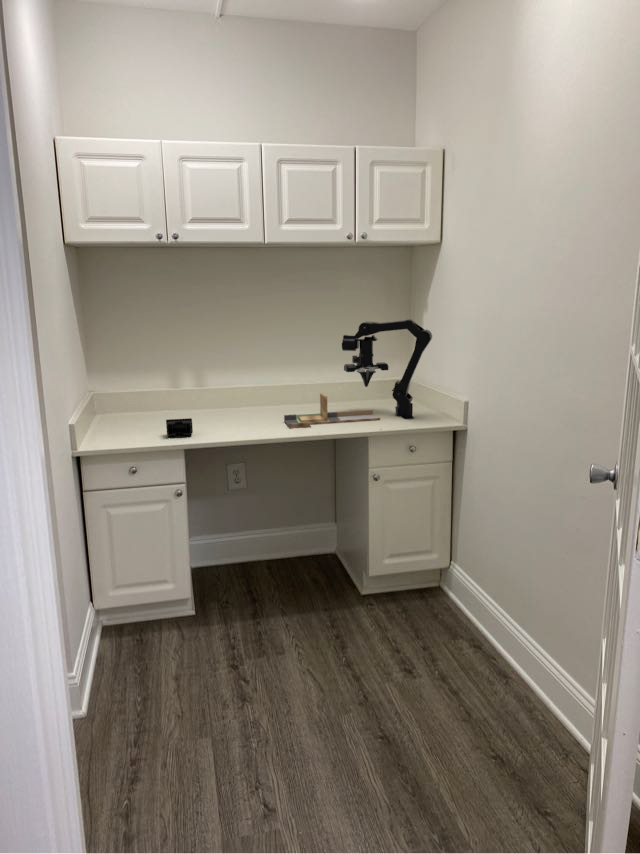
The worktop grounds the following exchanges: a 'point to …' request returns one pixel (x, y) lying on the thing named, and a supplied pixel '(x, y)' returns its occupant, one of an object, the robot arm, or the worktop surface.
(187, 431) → the end cap
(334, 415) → the trap track
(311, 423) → the walnut front lip
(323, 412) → the oak bookend
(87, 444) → the worktop surface
